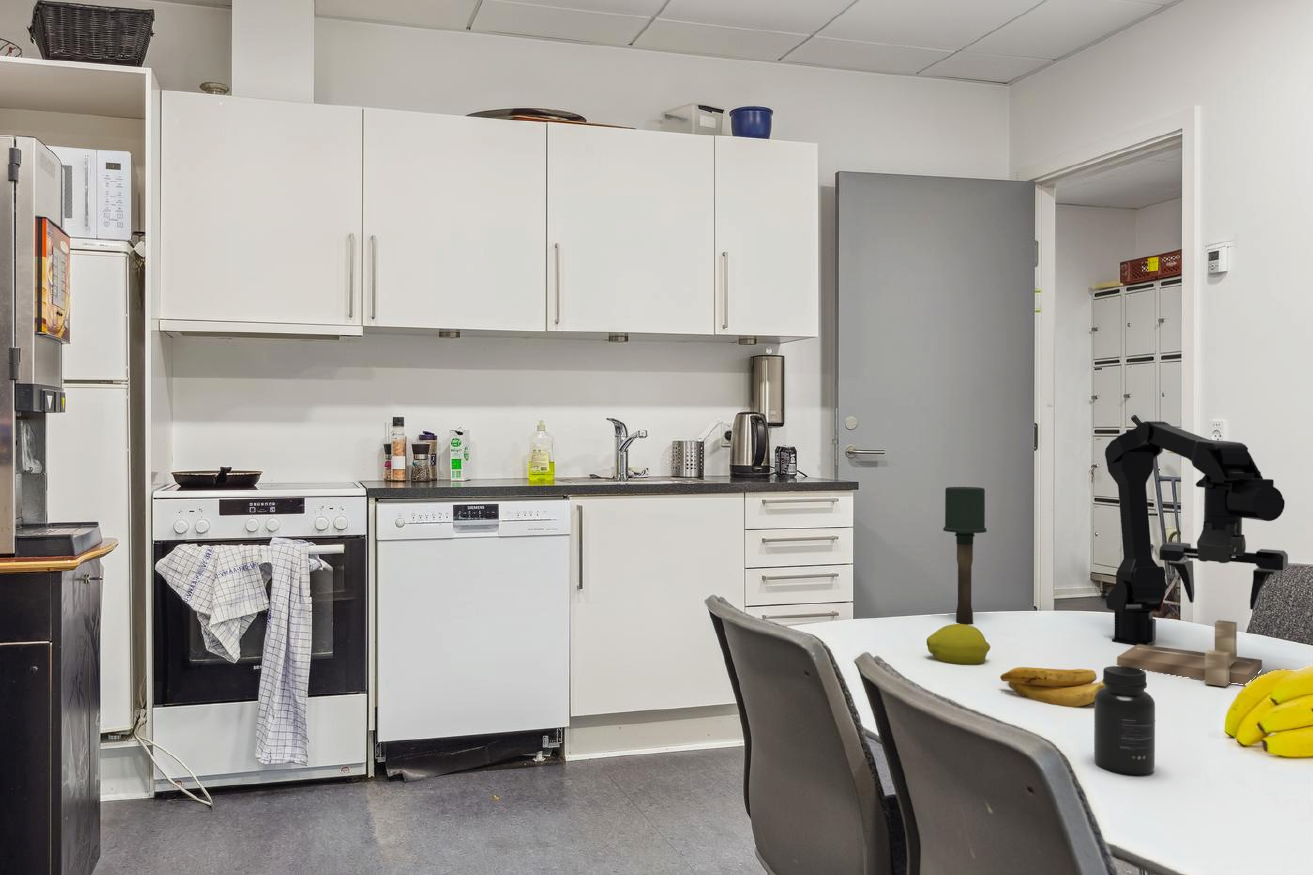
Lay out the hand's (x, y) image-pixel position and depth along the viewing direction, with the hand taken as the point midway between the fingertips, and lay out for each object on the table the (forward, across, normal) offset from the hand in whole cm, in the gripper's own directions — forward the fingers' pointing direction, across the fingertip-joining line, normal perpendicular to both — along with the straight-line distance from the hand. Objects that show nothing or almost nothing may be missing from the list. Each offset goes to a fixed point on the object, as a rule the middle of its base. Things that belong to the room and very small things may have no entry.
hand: (1221, 605), depth 173 cm
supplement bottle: (+11, +1, -63) cm, 64 cm away
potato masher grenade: (+12, -48, +4) cm, 50 cm away
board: (+12, -5, -1) cm, 13 cm away
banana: (+12, -16, -35) cm, 40 cm away
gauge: (+9, +1, +1) cm, 9 cm away
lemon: (+12, -35, -27) cm, 46 cm away
